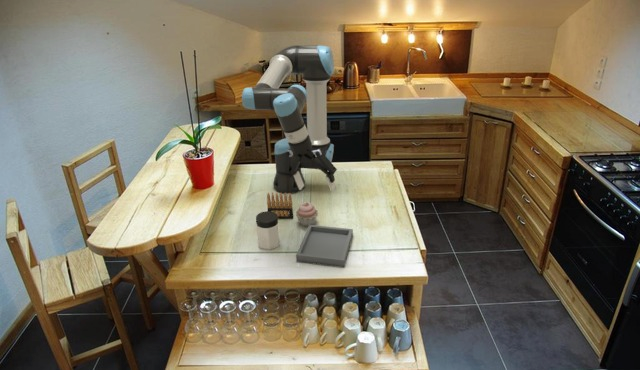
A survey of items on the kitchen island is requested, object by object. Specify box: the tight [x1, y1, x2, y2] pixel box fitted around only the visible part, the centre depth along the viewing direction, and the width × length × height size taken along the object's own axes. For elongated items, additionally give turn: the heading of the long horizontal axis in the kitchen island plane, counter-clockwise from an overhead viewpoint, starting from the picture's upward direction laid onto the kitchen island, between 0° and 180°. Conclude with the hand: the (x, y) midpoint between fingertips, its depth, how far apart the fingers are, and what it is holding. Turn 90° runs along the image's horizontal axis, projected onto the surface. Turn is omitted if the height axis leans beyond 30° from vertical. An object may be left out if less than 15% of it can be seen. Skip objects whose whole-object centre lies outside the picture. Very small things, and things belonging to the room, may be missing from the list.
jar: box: [255, 210, 280, 250], centre depth 173 cm, size 9×8×12 cm
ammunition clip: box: [266, 192, 294, 220], centre depth 190 cm, size 11×2×12 cm, turn 87°
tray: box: [295, 224, 354, 268], centre depth 172 cm, size 20×17×3 cm
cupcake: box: [295, 201, 319, 228], centre depth 186 cm, size 9×9×10 cm
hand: (317, 188), depth 166 cm, fingers open, 13 cm apart
